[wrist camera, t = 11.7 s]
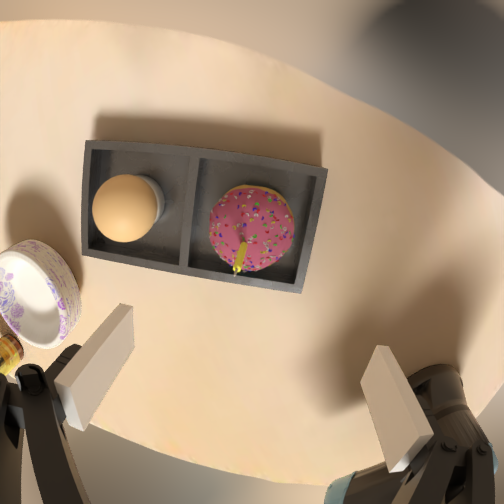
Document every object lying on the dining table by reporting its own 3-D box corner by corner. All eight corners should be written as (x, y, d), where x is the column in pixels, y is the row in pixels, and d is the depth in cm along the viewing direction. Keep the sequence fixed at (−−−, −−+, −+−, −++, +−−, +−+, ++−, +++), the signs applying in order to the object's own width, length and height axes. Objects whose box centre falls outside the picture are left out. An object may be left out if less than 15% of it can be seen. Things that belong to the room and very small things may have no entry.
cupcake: (269, 266, 36) (270, 319, 25) (203, 235, 35) (175, 275, 24) (303, 201, 33) (324, 227, 22) (234, 167, 33) (218, 175, 21)
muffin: (170, 174, 33) (145, 181, 26) (165, 235, 35) (141, 256, 28) (115, 169, 33) (81, 175, 26) (112, 226, 35) (80, 245, 28)
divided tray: (321, 167, 33) (328, 168, 30) (298, 281, 37) (301, 293, 34) (100, 140, 33) (85, 140, 29) (95, 246, 37) (81, 254, 34)
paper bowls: (109, 313, 40) (84, 343, 33) (48, 330, 42) (23, 355, 35) (64, 217, 36) (28, 233, 28) (9, 251, 38) (-22, 268, 31)
